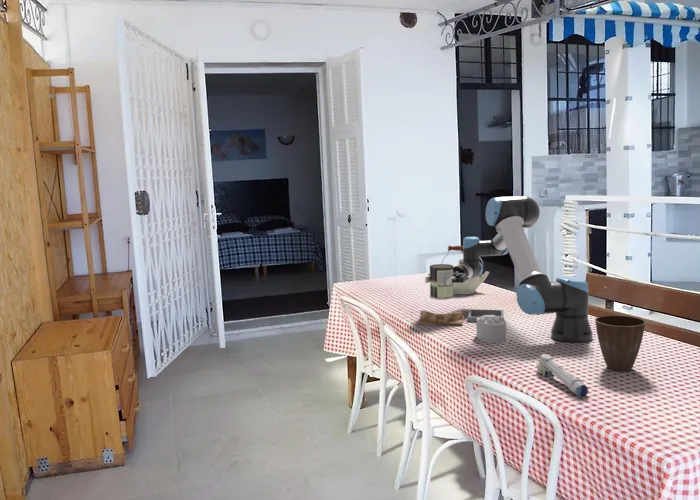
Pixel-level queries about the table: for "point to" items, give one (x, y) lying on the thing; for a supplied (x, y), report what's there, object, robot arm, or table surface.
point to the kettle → (470, 284)
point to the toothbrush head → (561, 375)
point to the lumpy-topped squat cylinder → (491, 329)
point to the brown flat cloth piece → (441, 318)
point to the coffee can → (441, 281)
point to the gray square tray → (486, 312)
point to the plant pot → (620, 340)
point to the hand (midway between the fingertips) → (436, 281)
